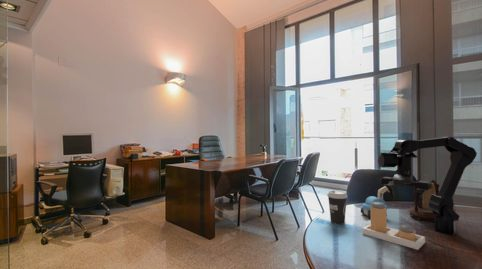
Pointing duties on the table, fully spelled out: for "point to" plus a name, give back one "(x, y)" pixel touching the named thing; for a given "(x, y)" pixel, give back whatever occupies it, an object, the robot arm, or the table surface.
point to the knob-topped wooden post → (378, 217)
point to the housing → (394, 237)
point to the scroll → (425, 203)
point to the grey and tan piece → (407, 232)
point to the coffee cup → (337, 206)
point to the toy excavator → (369, 200)
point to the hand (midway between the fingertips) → (404, 201)
